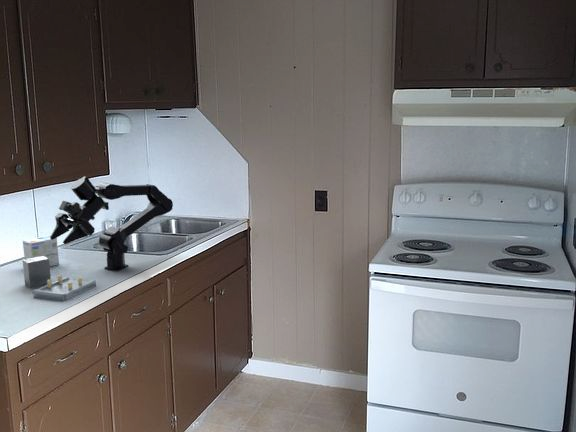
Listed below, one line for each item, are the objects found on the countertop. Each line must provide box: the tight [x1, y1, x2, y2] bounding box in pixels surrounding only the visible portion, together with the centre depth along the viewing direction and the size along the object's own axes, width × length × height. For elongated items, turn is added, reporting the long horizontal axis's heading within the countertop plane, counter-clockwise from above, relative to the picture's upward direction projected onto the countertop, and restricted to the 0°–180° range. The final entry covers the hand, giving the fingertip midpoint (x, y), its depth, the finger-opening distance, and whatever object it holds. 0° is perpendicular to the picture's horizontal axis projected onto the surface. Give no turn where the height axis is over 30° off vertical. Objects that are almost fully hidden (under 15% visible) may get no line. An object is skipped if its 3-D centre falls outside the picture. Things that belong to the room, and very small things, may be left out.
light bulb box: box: [22, 235, 60, 267], centre depth 221 cm, size 11×7×11 cm, turn 141°
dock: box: [32, 274, 97, 302], centre depth 193 cm, size 16×12×4 cm
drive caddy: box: [22, 256, 52, 289], centre depth 200 cm, size 7×5×9 cm
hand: (57, 241), depth 201 cm, fingers open, 9 cm apart
